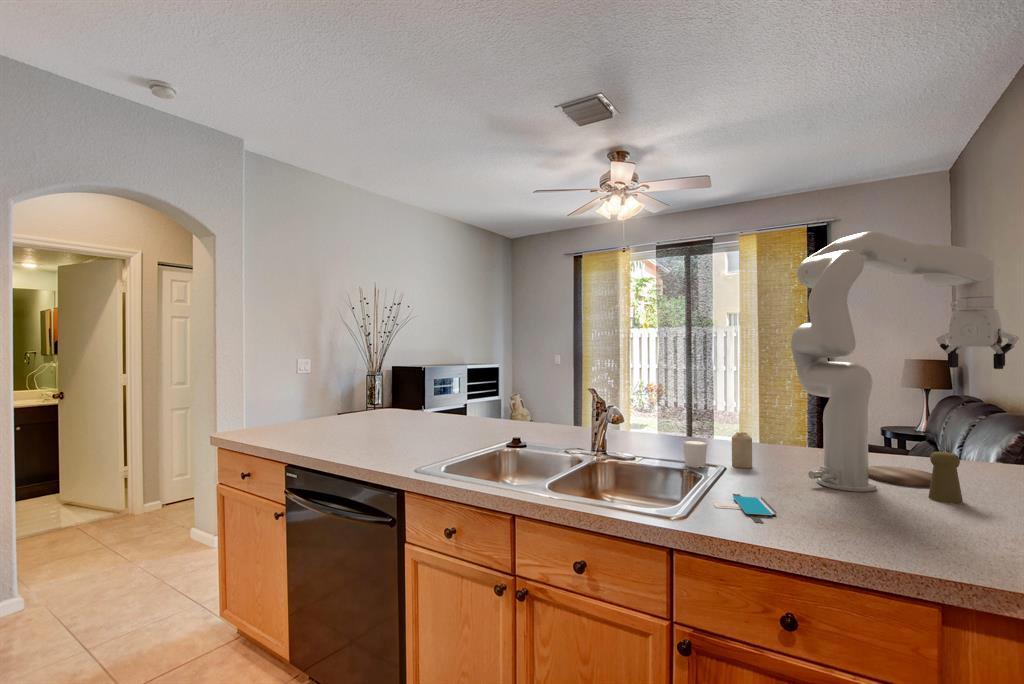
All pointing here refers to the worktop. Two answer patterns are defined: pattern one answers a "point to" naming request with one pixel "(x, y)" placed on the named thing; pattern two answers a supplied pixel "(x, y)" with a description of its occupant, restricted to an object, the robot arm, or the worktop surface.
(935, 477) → the olive green pepper mill
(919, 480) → the walnut board
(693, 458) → the white cup
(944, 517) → the worktop surface
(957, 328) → the robot arm
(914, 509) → the worktop surface
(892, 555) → the worktop surface
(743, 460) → the candle
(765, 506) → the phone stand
